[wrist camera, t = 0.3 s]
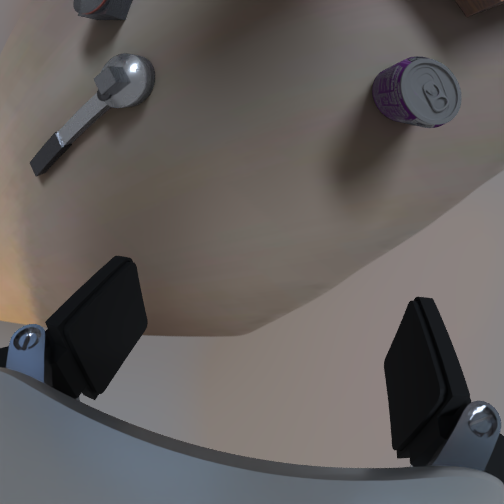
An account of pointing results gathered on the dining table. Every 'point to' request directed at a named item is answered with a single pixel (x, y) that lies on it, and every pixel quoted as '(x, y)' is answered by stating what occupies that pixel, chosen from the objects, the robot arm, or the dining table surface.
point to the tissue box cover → (477, 5)
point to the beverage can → (418, 92)
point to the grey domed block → (103, 9)
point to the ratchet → (101, 103)
